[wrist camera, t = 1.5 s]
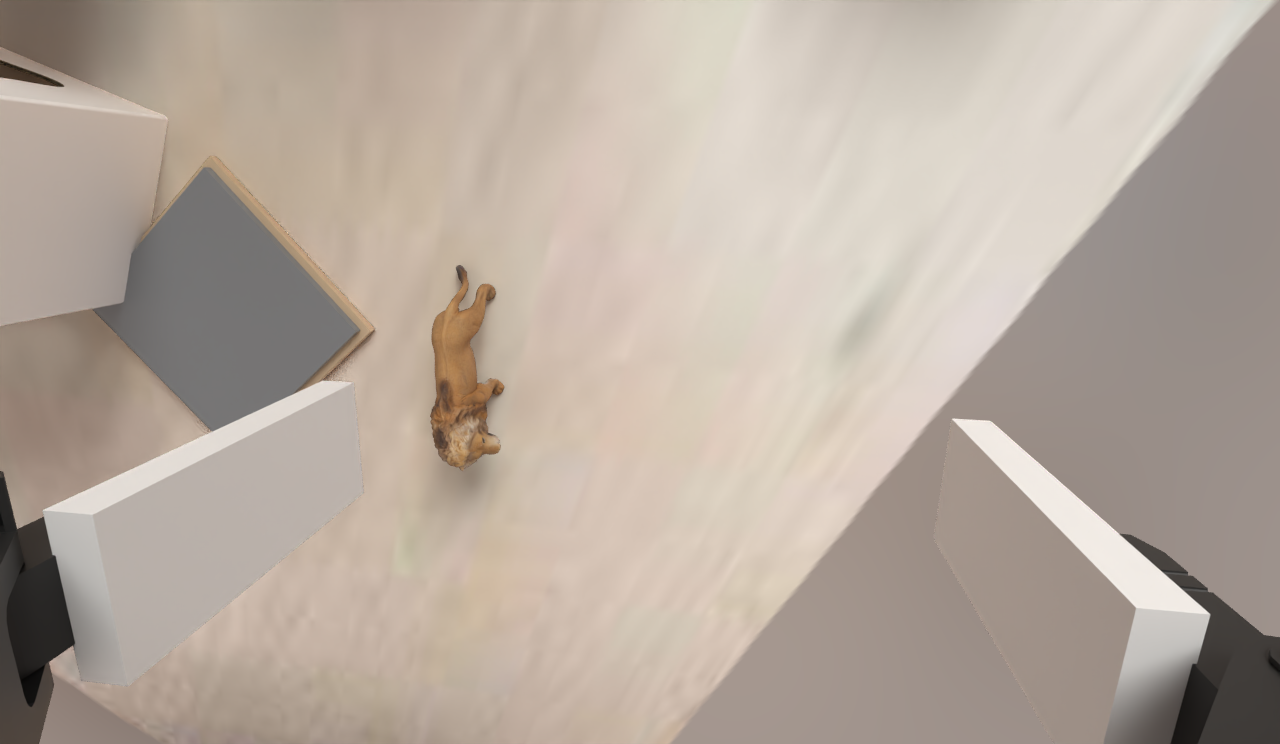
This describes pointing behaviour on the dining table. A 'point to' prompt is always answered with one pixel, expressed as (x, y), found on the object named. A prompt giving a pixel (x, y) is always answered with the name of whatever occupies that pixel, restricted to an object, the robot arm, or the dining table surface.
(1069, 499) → the robot arm
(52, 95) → the gable box
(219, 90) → the dining table surface
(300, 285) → the pad
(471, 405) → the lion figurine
